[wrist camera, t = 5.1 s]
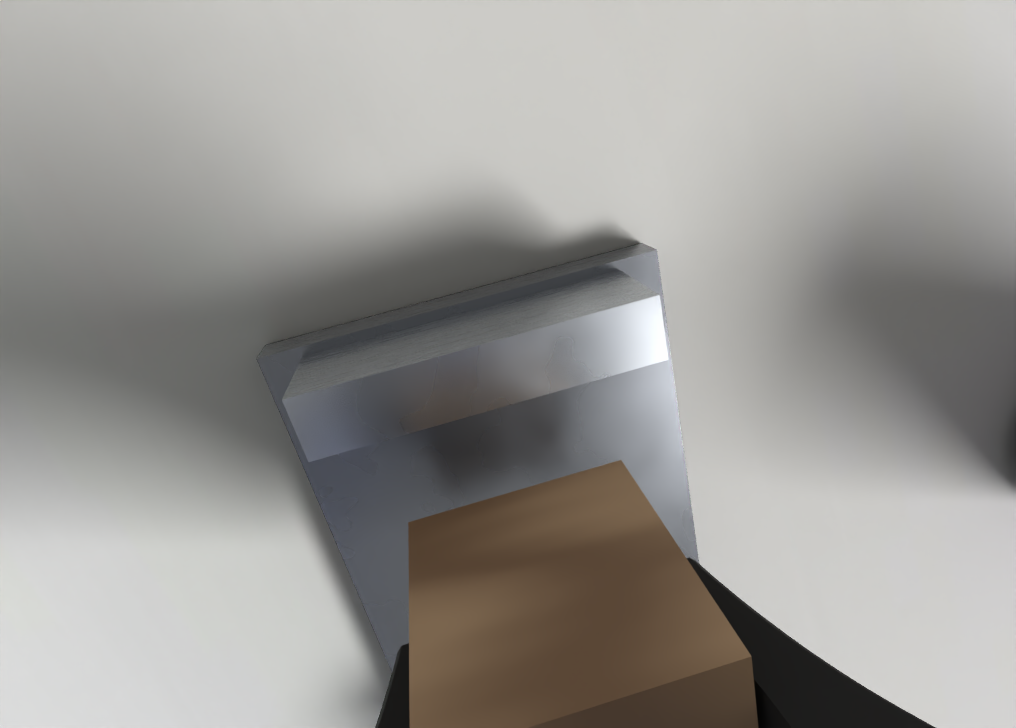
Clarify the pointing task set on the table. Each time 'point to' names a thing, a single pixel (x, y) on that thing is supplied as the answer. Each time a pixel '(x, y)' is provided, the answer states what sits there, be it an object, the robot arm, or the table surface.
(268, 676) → the table surface
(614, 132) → the table surface
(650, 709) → the brown block
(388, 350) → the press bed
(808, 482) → the table surface
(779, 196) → the table surface
